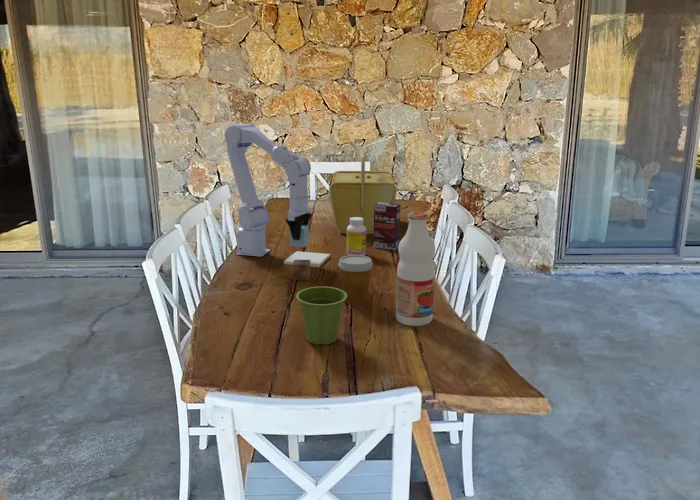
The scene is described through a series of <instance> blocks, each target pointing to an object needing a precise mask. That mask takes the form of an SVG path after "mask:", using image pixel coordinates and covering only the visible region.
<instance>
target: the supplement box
mask: <svg viewBox="0 0 700 500" xmlns="http://www.w3.org/2000/svg"><path fill="white" fill-rule="evenodd" d="M401 206H402V205H401V204H400V203H394V204H391V203H381V202H378V203H376V204H375V205H374V234H372V235H373V236H372V237H373V239H372V240H373V241H372V242H373V244H372V247H373V248H377V249H385V250H392V251H396V250H398V247H399V243H400V227H401Z"/></svg>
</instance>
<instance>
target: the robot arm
mask: <svg viewBox="0 0 700 500" xmlns="http://www.w3.org/2000/svg"><path fill="white" fill-rule="evenodd" d="M223 136H224V139H225V142H226V143H225V144H226V147H227V148H226V151H227V152H226V153H227V156H228V159H229V163H230V166H231V169H232V173H233V177H234V181H235V184H236V187H237V191H238V194H239V197H240V200H241V204H240V205H239V206H238V208H237V212H238V213H237V214H238V224H239V225H240V227H239V228H238V229H237V232H236V250H237V252H236V255H239V256H248V257H249V256H253V257H260V258H262V257H263V256H265V255H266V254H268V253H269V252H270V251H271V249H270V248H267V247H266V246H267V243H266V228H267V224H268V223H270V212H269V210H268V209H267V208H266V206H265V202H263V201H262V200H261V199H259V198H258V196H257V191H256V188H255V185H254V182H253V178H252V174H251V170H250V168H249V164H248V161H247V156H246V152H247V151H248V149H249V148H250V147H251V146H252V145H253V144H254V145H256V146H257V147H259V148H261V149H262V150H263V151H264V152H266V153H268V154H270V158H271V161H273V162H274V163H276V164H277V165H279V167H281V168H282V169H283V170H284V172H285V174H286V176H287V181H288V183H289V184H288V185H289V210H288V214H287V217H286V218H285V221H286V224H287V225H288V229H289V228H290V230H291V234H292V238H293V240H300V235H301V227H302V225H309V223H310V220H311V218H312V216H313V215H312V209H310V205H309V204H308V175H309V174H310V173H311V171H312V170H311V169H312V167H311V166H312V165H311V163H310V161H309V160H308V158H306V157H300V156H298V154H295V153H293V152H292V151H290V150H289V149H288V146H286V145H283V144H282V145H281V144H280V145H277V144H276V143H274V141H272V140H271V139H270V138H268V137H267V136H266V135H265V134H264V133H263V132H262V131H261V130H260V127H258V126H256V125H255V124H254V123H251V122H249V123H247V122H246V123H244V124H243V123H241V124H230V125H228V126H227V128H226V129H225V132H224V135H223Z"/></svg>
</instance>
